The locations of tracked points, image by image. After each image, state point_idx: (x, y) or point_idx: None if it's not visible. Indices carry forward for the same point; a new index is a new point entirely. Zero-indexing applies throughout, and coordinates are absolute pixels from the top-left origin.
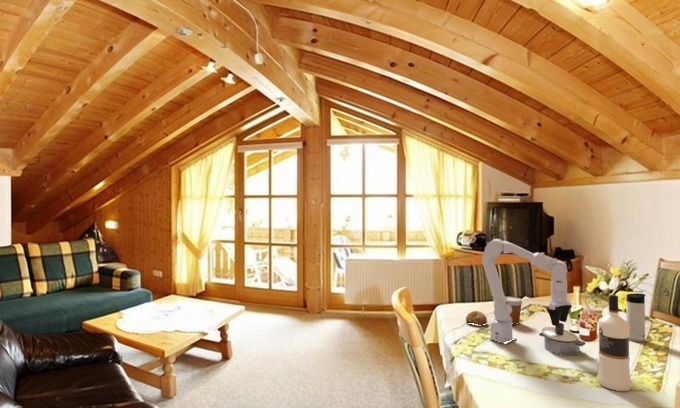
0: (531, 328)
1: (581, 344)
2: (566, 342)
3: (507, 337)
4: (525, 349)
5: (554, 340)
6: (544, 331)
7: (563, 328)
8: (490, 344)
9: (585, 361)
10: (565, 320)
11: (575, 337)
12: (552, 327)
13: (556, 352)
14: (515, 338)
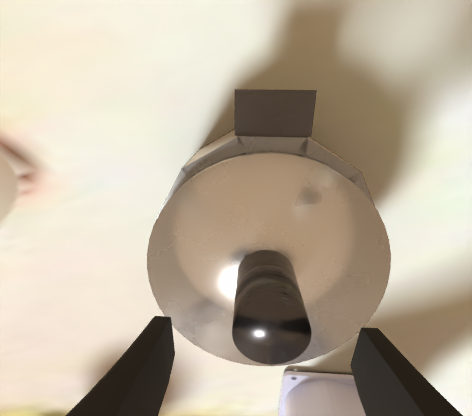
0: (101, 370)
1: (315, 94)
2: (361, 190)
3: (356, 403)
4: (381, 316)
5: None
6: (316, 344)
7: (275, 280)
8: None
9: (367, 47)
10: (164, 332)
11: (242, 168)
12: (189, 335)
13: None
14: (291, 376)
